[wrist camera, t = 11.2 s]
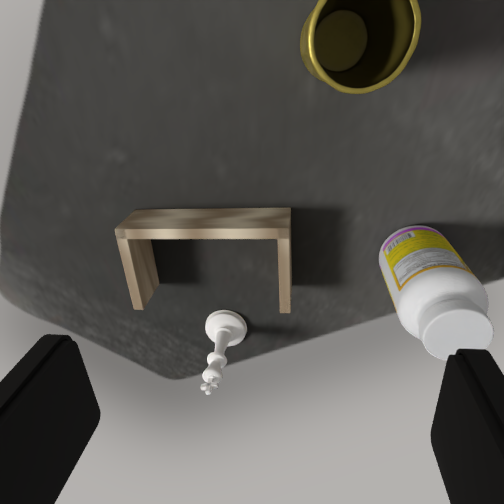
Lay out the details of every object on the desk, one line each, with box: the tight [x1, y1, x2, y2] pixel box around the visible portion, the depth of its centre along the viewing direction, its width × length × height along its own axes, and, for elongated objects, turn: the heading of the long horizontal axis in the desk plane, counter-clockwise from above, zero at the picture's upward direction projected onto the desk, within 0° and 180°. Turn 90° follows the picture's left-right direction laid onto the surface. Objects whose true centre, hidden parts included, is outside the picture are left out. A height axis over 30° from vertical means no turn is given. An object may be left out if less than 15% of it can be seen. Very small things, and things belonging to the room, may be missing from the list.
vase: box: [300, 0, 421, 94], centre depth 24 cm, size 6×6×14 cm
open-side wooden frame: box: [114, 208, 292, 313], centre depth 38 cm, size 16×9×5 cm, turn 93°
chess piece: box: [201, 310, 247, 395], centre depth 41 cm, size 5×5×10 cm
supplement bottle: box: [379, 225, 494, 361], centre depth 32 cm, size 7×7×13 cm
